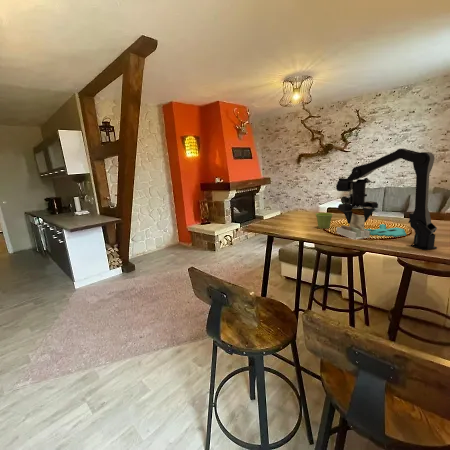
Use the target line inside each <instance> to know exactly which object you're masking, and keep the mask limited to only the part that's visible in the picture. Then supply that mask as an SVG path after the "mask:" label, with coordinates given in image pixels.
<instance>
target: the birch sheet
mask: <svg viewBox="0 0 450 450" xmlns="http://www.w3.org/2000/svg"><path fill="white" fill-rule="evenodd" d="M365 223H366V222H365V217H364V215H361V214H355V213H352V217H351V222H350V224H349V225H350V227H355V228H358V229H360V231H363V232H364V229H365Z"/></svg>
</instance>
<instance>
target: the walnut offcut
mask: <svg viewBox="0 0 450 450" xmlns="http://www.w3.org/2000/svg"><path fill="white" fill-rule="evenodd" d="M347 226H348V225H341V226H340V228H343V229H346V230H349V231H351V228H350V227H349V226H348V227H347Z"/></svg>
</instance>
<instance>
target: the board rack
mask: <svg viewBox="0 0 450 450" xmlns="http://www.w3.org/2000/svg"><path fill="white" fill-rule="evenodd" d="M348 225H349V226H348ZM348 225H346V226H347V227H350V224H348ZM334 233H336V234H339V235H341V236H343V237H346V238H349V239H351V240H360V239H367V238H370V236H371V235H370V231H367V230H364V232H363V231H360V237H356V233H355V232H352V231H349V230H346V229H343V228H341V226H340V227H339V226H336V232H334Z"/></svg>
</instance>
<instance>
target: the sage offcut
mask: <svg viewBox="0 0 450 450" xmlns="http://www.w3.org/2000/svg"><path fill="white" fill-rule="evenodd" d="M350 228H351V231H352V232H355V233H356V237H360V229H358V228H355V227H350Z"/></svg>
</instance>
